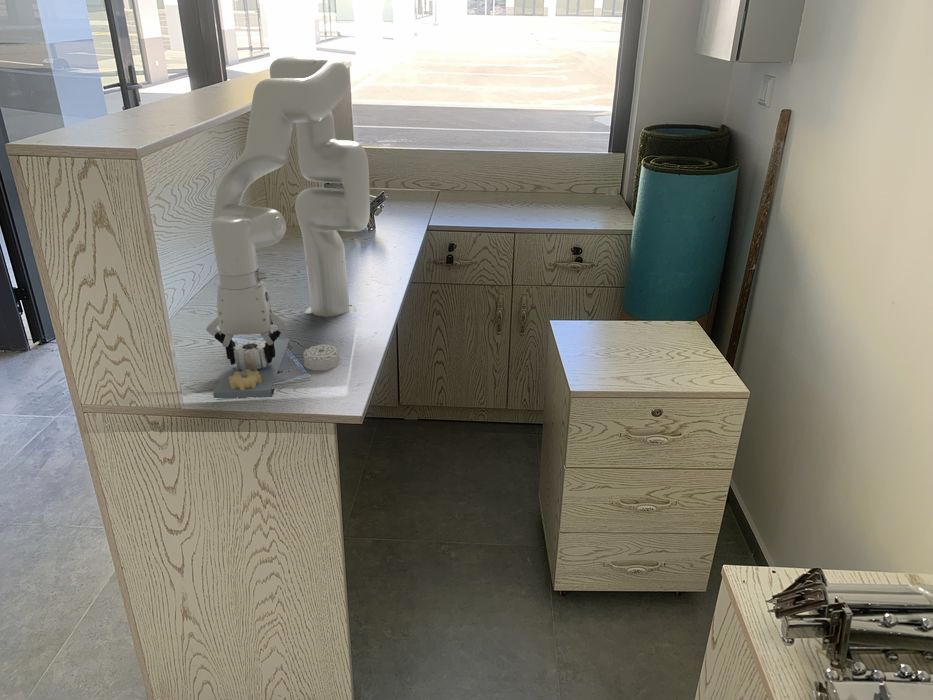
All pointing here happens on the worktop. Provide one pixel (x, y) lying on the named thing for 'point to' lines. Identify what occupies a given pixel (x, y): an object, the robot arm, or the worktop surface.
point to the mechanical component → (322, 357)
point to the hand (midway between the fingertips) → (252, 360)
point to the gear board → (263, 372)
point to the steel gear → (250, 355)
